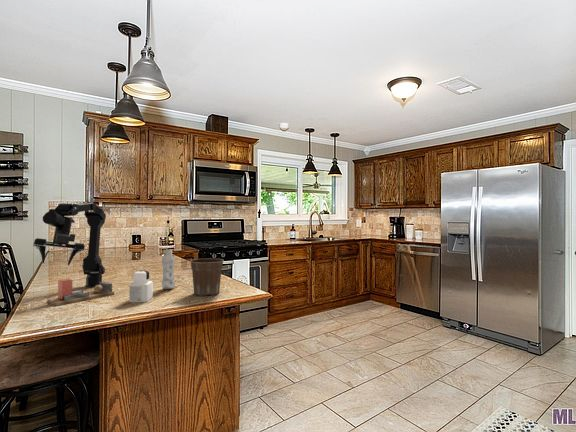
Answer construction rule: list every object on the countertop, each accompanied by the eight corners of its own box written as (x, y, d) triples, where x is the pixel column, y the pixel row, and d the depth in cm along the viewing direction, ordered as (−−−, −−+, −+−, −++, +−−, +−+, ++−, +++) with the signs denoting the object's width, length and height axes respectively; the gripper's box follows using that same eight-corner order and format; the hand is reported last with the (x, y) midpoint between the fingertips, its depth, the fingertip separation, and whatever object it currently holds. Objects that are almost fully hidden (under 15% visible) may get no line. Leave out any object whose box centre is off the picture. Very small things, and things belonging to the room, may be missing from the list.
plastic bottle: (177, 288, 175) (177, 249, 174) (169, 291, 168) (169, 251, 168) (167, 287, 177) (167, 249, 176) (158, 290, 170) (158, 250, 170)
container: (135, 297, 155) (135, 269, 155) (152, 297, 156) (152, 269, 155) (129, 302, 147) (129, 272, 147) (147, 302, 148) (147, 272, 148)
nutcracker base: (103, 291, 166) (103, 281, 166) (114, 294, 160) (114, 283, 160) (47, 302, 146) (47, 290, 146) (57, 306, 141) (57, 293, 141)
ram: (77, 294, 154) (77, 277, 154) (82, 296, 151) (82, 278, 151) (58, 298, 147) (58, 280, 147) (62, 299, 145) (62, 281, 145)
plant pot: (199, 288, 175) (199, 257, 174) (228, 290, 171) (228, 258, 171) (183, 296, 159) (183, 261, 158) (215, 298, 155) (215, 263, 155)
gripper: (39, 222, 141) (31, 259, 136) (89, 229, 152) (83, 264, 148) (36, 227, 149) (29, 263, 144) (84, 234, 161) (78, 267, 156)
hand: (55, 264), depth 148 cm, fingers open, 9 cm apart
